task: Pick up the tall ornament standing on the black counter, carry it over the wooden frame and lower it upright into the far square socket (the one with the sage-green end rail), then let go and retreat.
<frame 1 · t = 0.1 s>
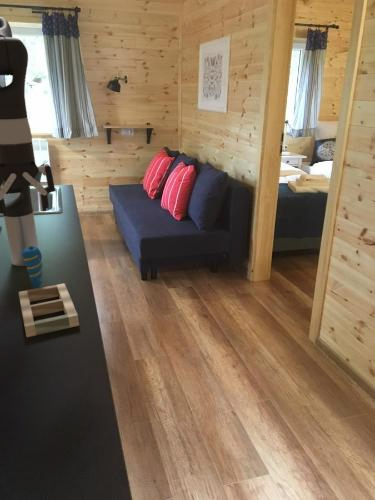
hand: (25, 212, 97), 29 cm above the counter, fingers open, 8 cm apart
ornament: (37, 291, 125), on the counter
wooden frame: (48, 312, 112), on the counter
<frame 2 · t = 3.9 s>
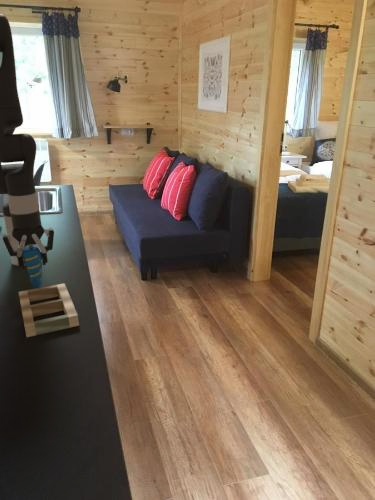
hand: (33, 265, 122), 8 cm above the counter, fingers closed on ornament, 5 cm apart
ornament: (37, 291, 125), on the counter, touching gripper
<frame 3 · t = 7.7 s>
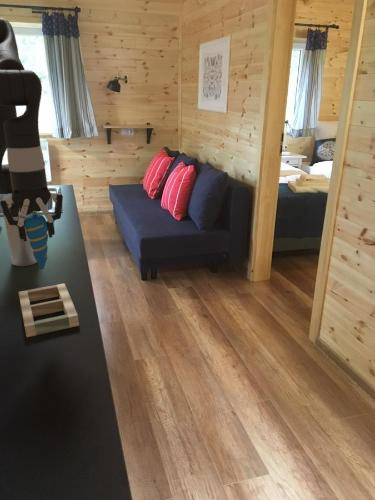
hand: (37, 238, 100), 22 cm above the counter, fingers closed on ornament, 5 cm apart
ornament: (42, 269, 103), point 14 cm above the counter, touching gripper
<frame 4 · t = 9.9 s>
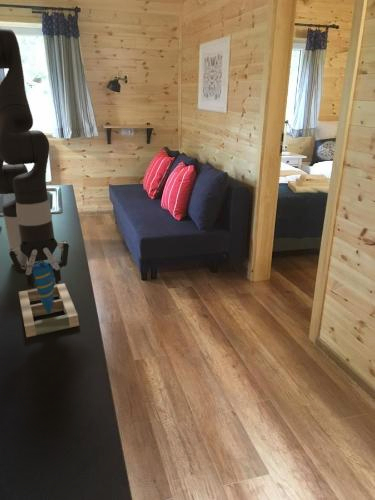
hand: (44, 284, 105), 10 cm above the counter, fingers closed on ornament, 5 cm apart
ornament: (49, 313, 108), point 2 cm above the counter, touching gripper
when the fingers open (8 cm above the counter, at t = 11.5 s): ornament stays where it is, resting in wooden frame.
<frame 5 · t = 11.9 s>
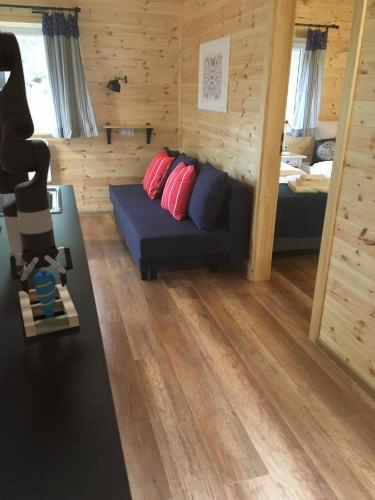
hand: (45, 289, 105), 9 cm above the counter, fingers open, 8 cm apart
ornament: (49, 321, 109), resting in wooden frame
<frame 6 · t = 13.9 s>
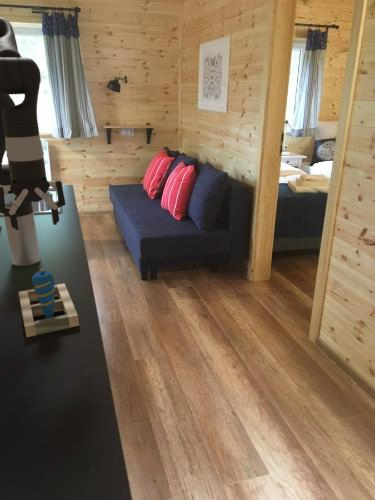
hand: (36, 226, 99), 25 cm above the counter, fingers open, 8 cm apart
nothing on the counter moved.
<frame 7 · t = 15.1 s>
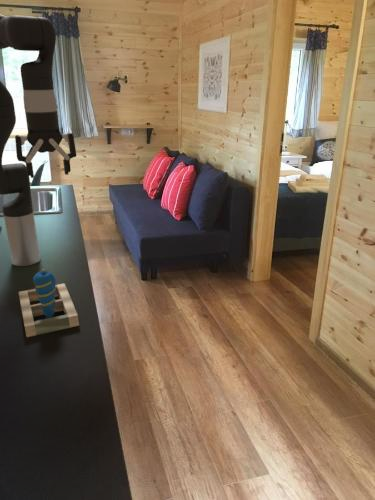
hand: (49, 175, 109), 35 cm above the counter, fingers open, 8 cm apart
nothing on the counter moved.
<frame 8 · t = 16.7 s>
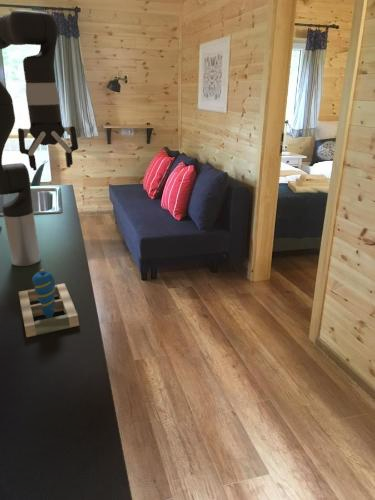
hand: (52, 168, 110), 36 cm above the counter, fingers open, 8 cm apart
nothing on the counter moved.
at the end: ornament 0.1 cm from the target spot on the wooden frame, point 0.0 cm above the wooden frame's base; ornament tilted 0°; the gripper is holding nothing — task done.
